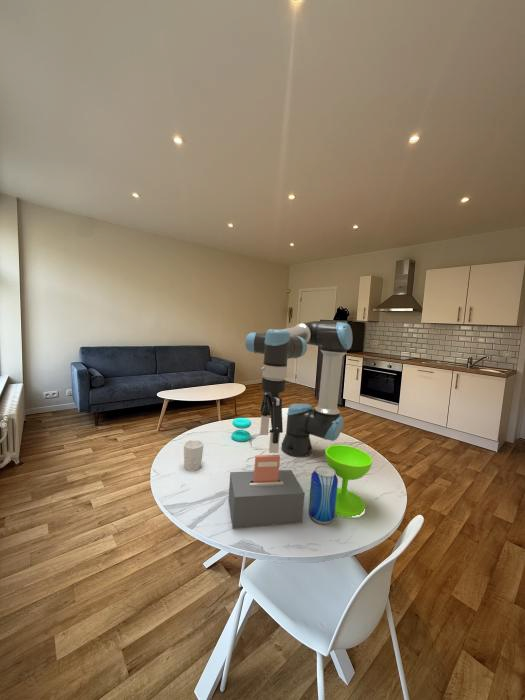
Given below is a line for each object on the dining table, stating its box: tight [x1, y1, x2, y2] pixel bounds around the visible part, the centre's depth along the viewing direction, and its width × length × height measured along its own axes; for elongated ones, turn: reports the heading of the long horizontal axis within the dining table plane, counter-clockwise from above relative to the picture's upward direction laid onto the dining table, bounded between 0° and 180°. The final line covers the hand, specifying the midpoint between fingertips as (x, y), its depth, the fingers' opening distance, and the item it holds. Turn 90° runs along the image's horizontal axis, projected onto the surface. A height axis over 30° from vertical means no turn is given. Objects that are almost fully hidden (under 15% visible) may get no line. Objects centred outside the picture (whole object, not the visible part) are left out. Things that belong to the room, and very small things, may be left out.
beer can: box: [308, 465, 339, 525], centre depth 92 cm, size 8×8×16 cm
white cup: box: [183, 439, 204, 472], centre depth 118 cm, size 8×8×10 cm
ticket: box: [253, 454, 281, 483], centre depth 93 cm, size 8×1×12 cm, turn 102°
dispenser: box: [228, 469, 305, 529], centre depth 94 cm, size 22×14×11 cm, turn 102°
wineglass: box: [324, 444, 373, 518], centre depth 101 cm, size 16×16×18 cm
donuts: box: [231, 417, 252, 442], centre depth 150 cm, size 10×10×10 cm
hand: (268, 442), depth 92 cm, fingers open, 13 cm apart
